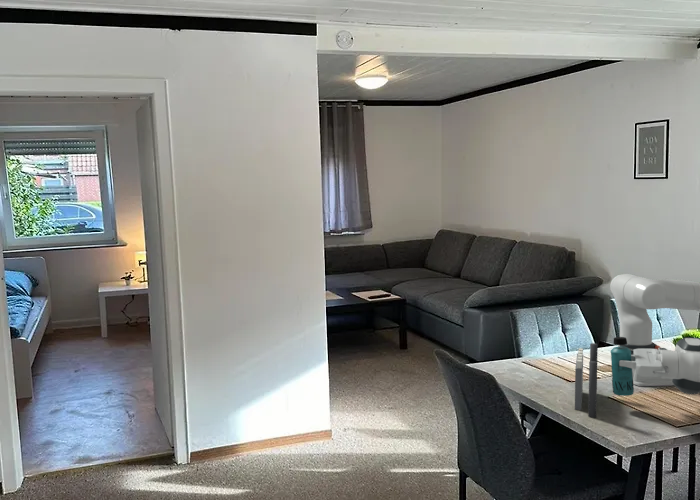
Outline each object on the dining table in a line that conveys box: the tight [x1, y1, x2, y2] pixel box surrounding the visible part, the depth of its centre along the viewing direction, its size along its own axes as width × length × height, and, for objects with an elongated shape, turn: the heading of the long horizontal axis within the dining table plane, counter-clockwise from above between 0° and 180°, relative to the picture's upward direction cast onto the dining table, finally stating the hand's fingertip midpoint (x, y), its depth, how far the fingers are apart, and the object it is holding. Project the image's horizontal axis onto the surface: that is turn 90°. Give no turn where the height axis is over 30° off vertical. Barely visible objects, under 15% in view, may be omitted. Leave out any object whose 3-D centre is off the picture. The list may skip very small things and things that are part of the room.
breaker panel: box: [574, 347, 584, 411], centre depth 214 cm, size 2×18×16 cm, turn 158°
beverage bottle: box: [610, 336, 635, 397], centre depth 205 cm, size 6×7×20 cm
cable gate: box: [587, 342, 599, 419], centre depth 210 cm, size 2×24×18 cm, turn 158°
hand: (619, 360), depth 204 cm, fingers open, 4 cm apart
